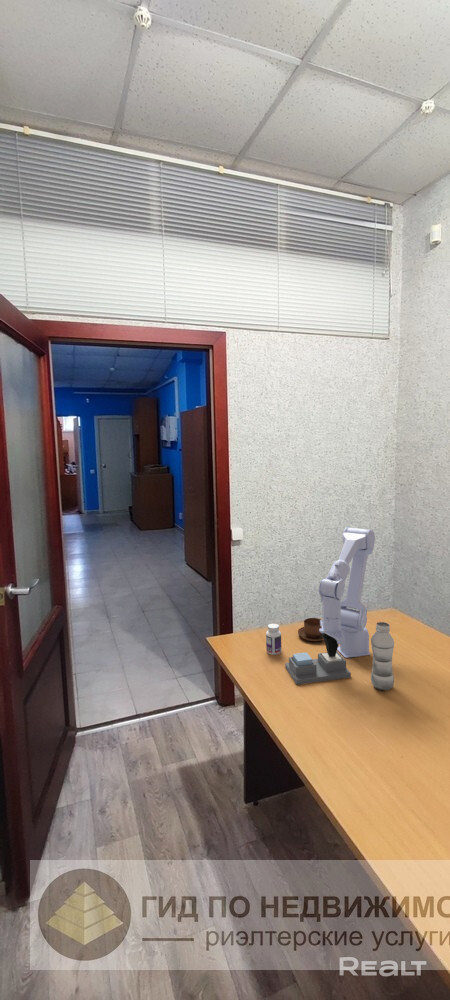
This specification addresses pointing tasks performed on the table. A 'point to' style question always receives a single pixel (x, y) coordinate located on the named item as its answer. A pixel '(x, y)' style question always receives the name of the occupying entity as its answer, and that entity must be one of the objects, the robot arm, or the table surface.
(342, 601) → the robot arm
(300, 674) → the key panel
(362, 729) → the table surface
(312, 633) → the cup and saucer
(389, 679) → the plastic bottle
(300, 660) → the blue key
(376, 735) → the table surface
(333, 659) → the white key
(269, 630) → the pill bottle
